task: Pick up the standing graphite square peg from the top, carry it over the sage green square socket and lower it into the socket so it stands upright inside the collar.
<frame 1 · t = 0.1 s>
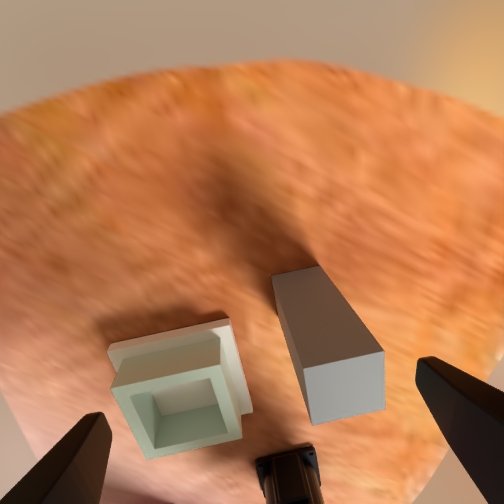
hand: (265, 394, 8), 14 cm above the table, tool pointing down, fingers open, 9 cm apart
socket block: (186, 375, 26), on the table
peg: (298, 292, 24), on the table
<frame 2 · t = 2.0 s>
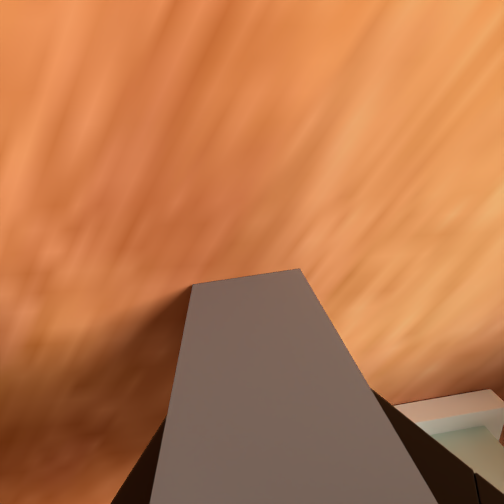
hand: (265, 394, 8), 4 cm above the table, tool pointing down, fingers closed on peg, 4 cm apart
socket block: (385, 472, 16), on the table
peg: (253, 321, 12), on the table, touching gripper
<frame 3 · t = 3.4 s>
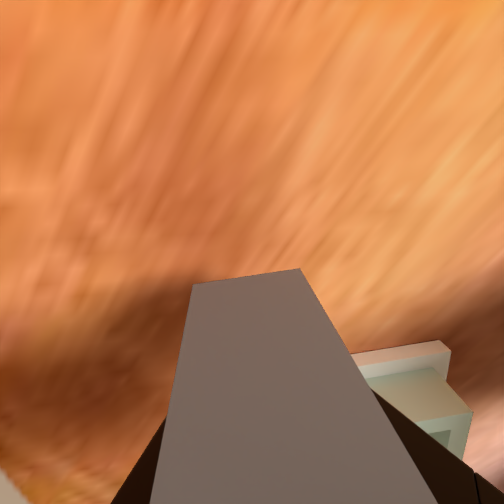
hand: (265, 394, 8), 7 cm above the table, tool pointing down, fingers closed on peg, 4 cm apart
socket block: (357, 412, 19), on the table
peg: (253, 321, 12), point 4 cm above the table, touching gripper
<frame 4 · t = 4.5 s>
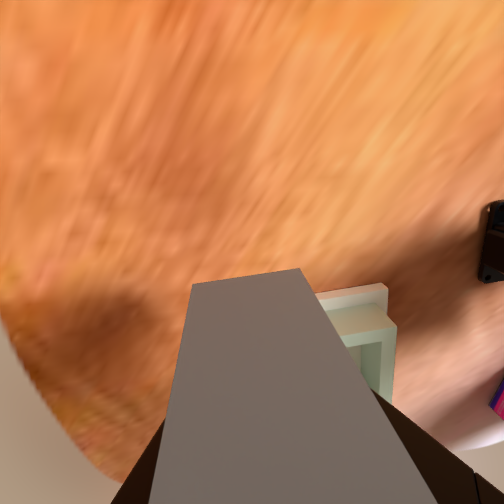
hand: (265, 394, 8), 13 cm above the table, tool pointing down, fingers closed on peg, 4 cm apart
socket block: (320, 345, 24), on the table
peg: (252, 321, 12), point 9 cm above the table, touching gripper
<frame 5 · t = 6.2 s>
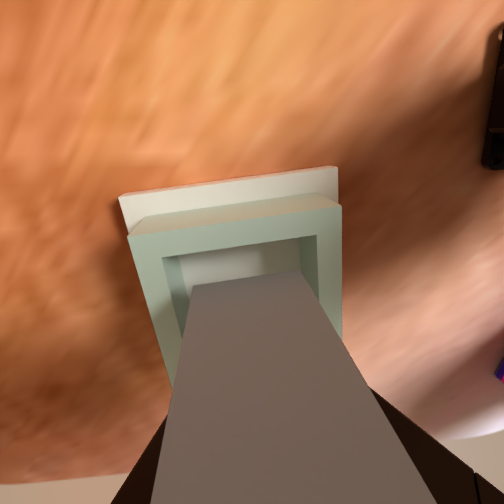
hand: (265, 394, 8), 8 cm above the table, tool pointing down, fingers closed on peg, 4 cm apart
socket block: (242, 271, 16), on the table
peg: (253, 322, 12), point 5 cm above the table, touching gripper
when the fingers open (6 cm above the table, at t = 7.3 s): peg drops 1 cm, resting on socket block.
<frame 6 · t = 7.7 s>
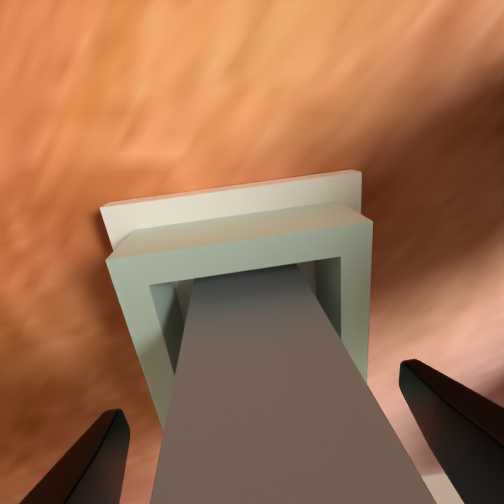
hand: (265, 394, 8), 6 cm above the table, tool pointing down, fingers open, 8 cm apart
socket block: (247, 291, 14), on the table
peg: (249, 302, 13), point 1 cm above the table, touching socket block
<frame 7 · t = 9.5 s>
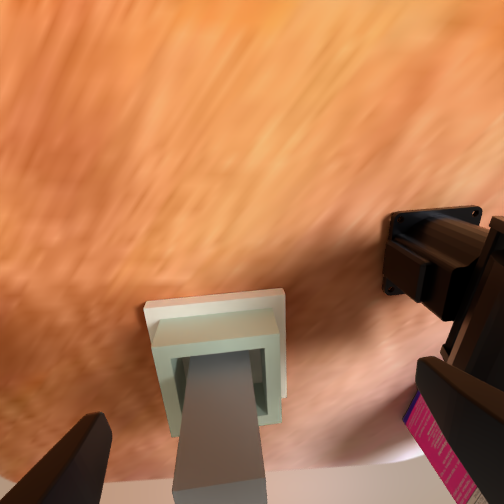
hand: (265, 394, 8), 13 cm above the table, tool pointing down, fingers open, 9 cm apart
supplement box: (436, 398, 28), on the table
socket block: (222, 348, 23), on the table
peg: (222, 357, 22), point 1 cm above the table, touching socket block
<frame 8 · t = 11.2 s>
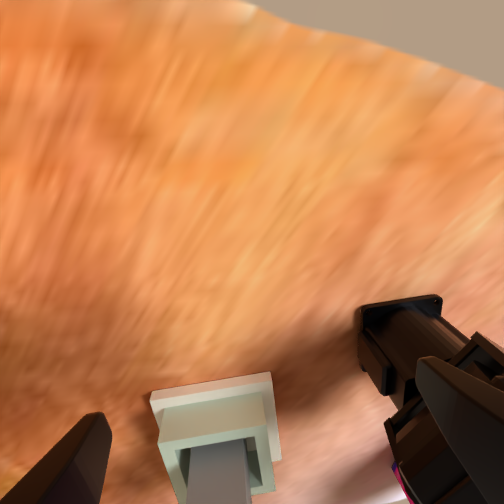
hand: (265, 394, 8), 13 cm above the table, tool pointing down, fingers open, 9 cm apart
socket block: (221, 422, 27), on the table
peg: (221, 433, 26), point 1 cm above the table, touching socket block
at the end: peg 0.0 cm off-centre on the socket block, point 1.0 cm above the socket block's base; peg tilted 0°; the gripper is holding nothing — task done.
